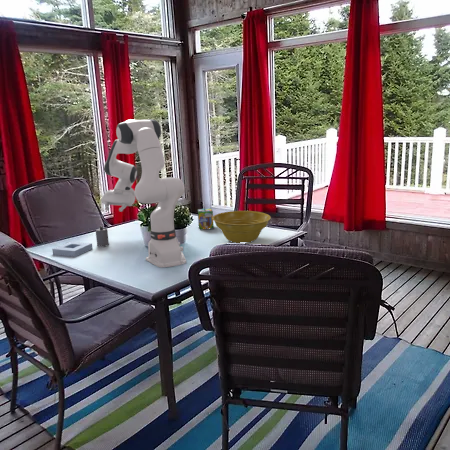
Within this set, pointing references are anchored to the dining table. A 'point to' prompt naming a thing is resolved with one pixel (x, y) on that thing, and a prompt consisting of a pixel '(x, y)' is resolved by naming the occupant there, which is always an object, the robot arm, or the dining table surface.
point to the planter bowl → (241, 225)
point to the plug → (102, 237)
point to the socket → (72, 249)
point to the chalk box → (205, 218)
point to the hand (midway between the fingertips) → (113, 210)
